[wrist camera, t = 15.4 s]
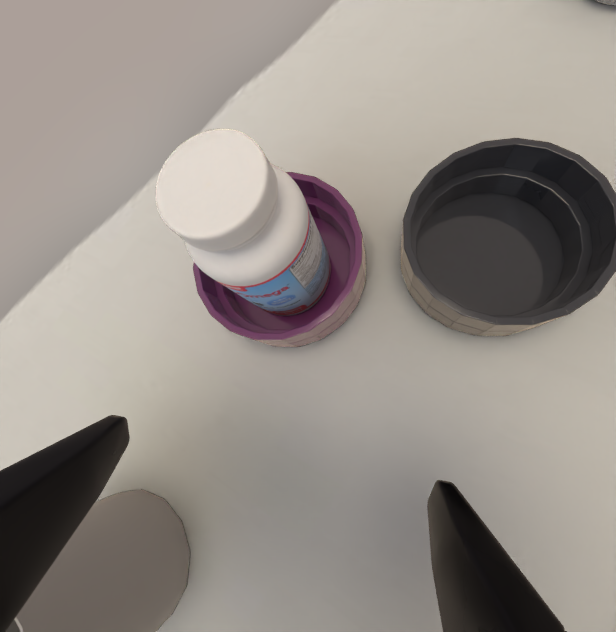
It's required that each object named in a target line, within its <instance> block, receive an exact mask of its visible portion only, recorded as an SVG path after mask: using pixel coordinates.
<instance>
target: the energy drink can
mask: <svg viewBox="0 0 616 632" xmlns="http://www.w3.org/2000/svg"><path fill="white" fill-rule="evenodd" d="M595 1H598V2H600V3H603V4H607V5H616V0H595Z"/></svg>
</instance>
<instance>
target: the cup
mask: <svg viewBox="0 0 616 632" xmlns="http://www.w3.org/2000/svg"><path fill="white" fill-rule="evenodd" d="M189 559H190V550H189V546H188V542H187V539H186V535H185V531H184V528H183V524H182V521H181V520H180V518H179V517H178V516H177V515H176V513H175V512H174V511H173V510H172V508H171V507H170V506H169V504H168V503H167V502H166V501H165V499H163V498H161V497H158V496H156V495H154V494H151V493H149V492H147V491H144V490H142V489H140V490H134V491H127V492H120V493H117V494H114V495H112V496H109V497H107V498H104V499H102V500H99V501H97V502H95V503H94V505H93V506H92V508H91V509H90V510H89V512H88V513H87V515H86V516H85V518H84V519H83V521H82V522H81V523H80V525H79V526H78V528H77V529H76V531H75V532H74V534H73V535H72V537H71V538H70V539H69V541H68V542H67V544H66V545H65V547H64V548H63V550H62V551H61V552H60V554H59V555H58V557H57V558H56V560H55V561H54V563H53V564H52V566H51V567H50V568H49V570H48V571H47V573H46V574H45V576H44V577H43V579H42V580H41V581H40V583H39V584H38V586H37V587H36V589H35V590H34V592H33V593H32V595H31V596H30V597H29V599H28V600H27V602H26V603H25V605H24V606H23V608H22V609H21V610H20V612H19V613H18V615H17V616H16V618H15V619H14V621H13V622H12V623H11V625H10V626H9V628H8V629H7V631H6V632H156V631H157V630H158V629H159V628H160V627H161V626H162V624H163V623H164V622H165V621H166V620H167V619H168V618H169V617H170V616H171V615H172V614H173V612H174V610H175V608H176V606H177V604H178V602H179V600H180V598H181V596H182V594H183V592H184V590H185V588H186V586H187V580H188V569H189Z"/></svg>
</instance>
